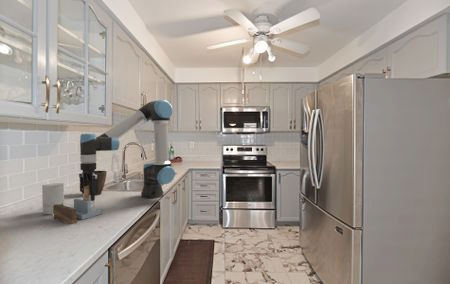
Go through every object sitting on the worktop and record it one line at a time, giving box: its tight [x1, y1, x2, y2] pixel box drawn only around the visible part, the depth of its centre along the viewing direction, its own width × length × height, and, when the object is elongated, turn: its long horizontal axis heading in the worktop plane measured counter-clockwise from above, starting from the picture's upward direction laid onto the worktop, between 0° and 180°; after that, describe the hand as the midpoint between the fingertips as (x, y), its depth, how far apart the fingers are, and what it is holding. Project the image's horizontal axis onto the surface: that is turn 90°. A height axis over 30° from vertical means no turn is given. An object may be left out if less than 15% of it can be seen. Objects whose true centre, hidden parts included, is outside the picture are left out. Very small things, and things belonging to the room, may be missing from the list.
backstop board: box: [53, 204, 77, 225], centre depth 126 cm, size 2×16×7 cm, turn 61°
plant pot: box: [94, 170, 108, 196], centre depth 182 cm, size 15×15×16 cm
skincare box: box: [41, 182, 65, 215], centre depth 140 cm, size 8×7×16 cm
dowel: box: [84, 185, 90, 201], centre depth 137 cm, size 4×4×11 cm
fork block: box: [73, 198, 102, 220], centre depth 135 cm, size 10×12×8 cm
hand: (88, 205), depth 137 cm, fingers closed on dowel, 4 cm apart
